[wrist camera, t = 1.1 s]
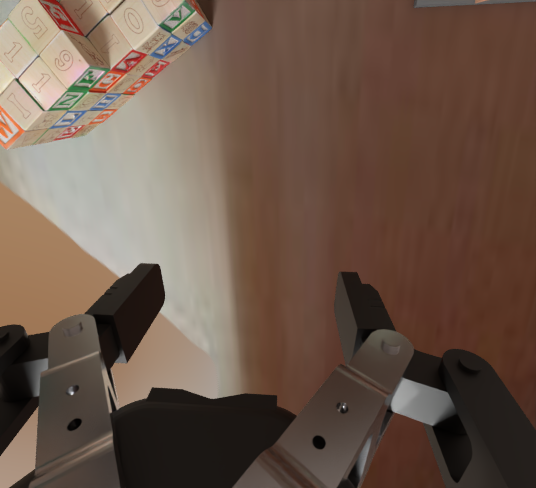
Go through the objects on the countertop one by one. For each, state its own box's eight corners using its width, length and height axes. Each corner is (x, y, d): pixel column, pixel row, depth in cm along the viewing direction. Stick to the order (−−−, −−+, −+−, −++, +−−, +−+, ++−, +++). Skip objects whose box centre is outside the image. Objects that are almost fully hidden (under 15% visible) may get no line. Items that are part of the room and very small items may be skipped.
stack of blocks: (177, -34, 30) (112, -113, 19) (214, 28, 32) (174, -11, 21) (48, 92, 36) (-58, 87, 25) (86, 137, 38) (3, 151, 27)
